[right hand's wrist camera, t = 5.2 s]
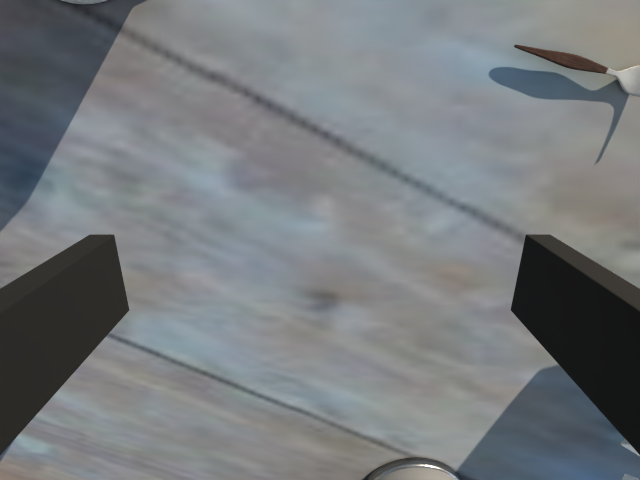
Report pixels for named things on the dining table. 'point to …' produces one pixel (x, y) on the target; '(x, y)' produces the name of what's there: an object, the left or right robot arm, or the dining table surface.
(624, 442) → the white plastic object
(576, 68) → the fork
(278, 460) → the dining table surface
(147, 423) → the dining table surface
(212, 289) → the dining table surface
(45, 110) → the dining table surface
